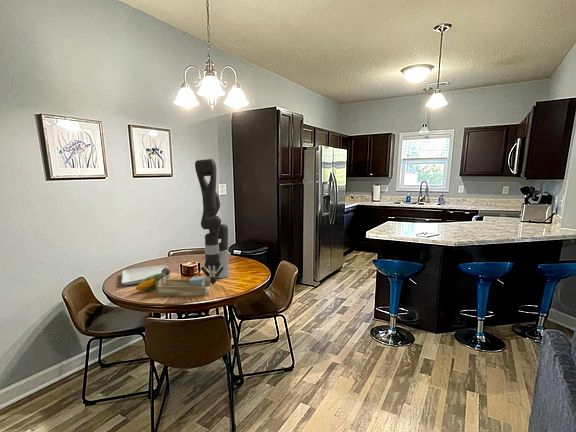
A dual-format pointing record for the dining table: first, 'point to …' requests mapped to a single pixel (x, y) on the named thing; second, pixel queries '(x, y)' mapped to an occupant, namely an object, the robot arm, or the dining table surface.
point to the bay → (178, 286)
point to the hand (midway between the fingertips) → (213, 283)
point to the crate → (197, 281)
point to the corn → (147, 284)
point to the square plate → (141, 274)
